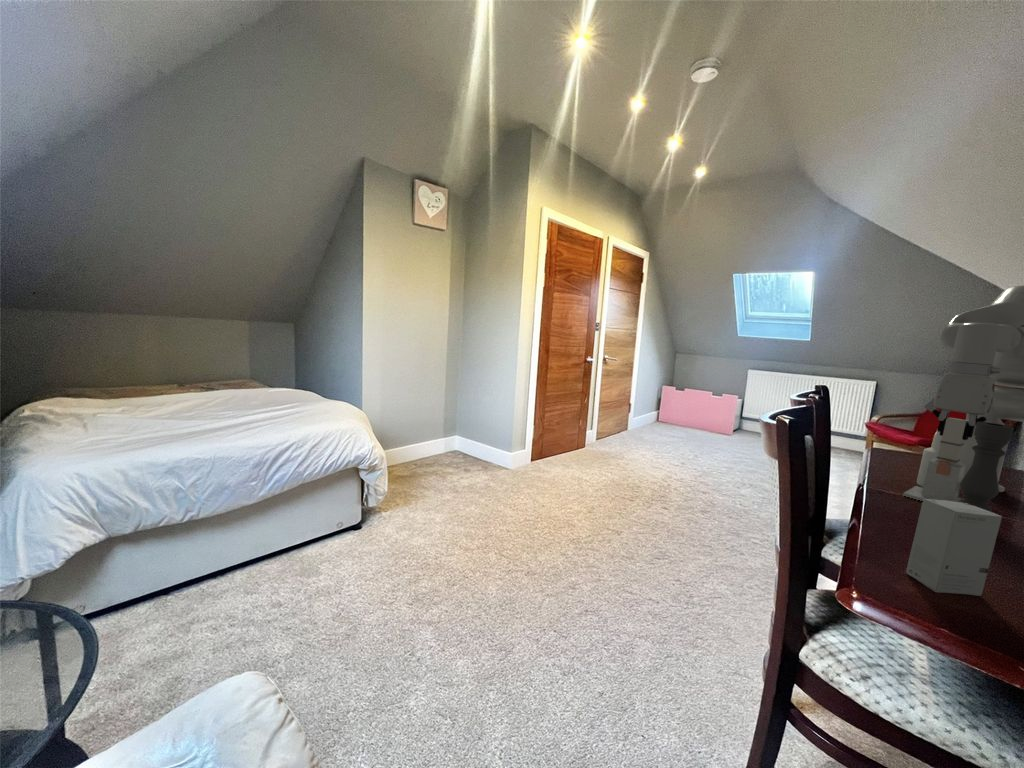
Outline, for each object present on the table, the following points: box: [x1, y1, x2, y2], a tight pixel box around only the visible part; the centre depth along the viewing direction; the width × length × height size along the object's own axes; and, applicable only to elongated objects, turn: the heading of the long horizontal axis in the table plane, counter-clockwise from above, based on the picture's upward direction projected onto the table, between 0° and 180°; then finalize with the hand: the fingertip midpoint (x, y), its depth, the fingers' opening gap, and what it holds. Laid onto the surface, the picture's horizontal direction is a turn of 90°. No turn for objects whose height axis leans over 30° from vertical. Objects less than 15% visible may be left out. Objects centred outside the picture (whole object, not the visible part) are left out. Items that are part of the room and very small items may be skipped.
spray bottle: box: [916, 428, 942, 488], centre depth 123 cm, size 7×7×18 cm
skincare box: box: [905, 499, 1003, 597], centre depth 72 cm, size 8×6×15 cm
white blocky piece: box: [902, 458, 966, 502], centre depth 113 cm, size 12×12×12 cm
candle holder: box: [957, 422, 1015, 513], centre depth 97 cm, size 6×6×25 cm
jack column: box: [937, 417, 969, 467], centre depth 111 cm, size 4×4×18 cm
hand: (953, 436), depth 111 cm, fingers closed on jack column, 3 cm apart
